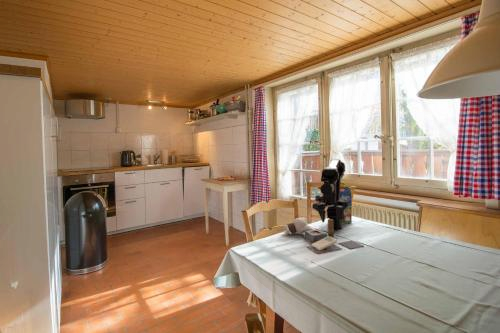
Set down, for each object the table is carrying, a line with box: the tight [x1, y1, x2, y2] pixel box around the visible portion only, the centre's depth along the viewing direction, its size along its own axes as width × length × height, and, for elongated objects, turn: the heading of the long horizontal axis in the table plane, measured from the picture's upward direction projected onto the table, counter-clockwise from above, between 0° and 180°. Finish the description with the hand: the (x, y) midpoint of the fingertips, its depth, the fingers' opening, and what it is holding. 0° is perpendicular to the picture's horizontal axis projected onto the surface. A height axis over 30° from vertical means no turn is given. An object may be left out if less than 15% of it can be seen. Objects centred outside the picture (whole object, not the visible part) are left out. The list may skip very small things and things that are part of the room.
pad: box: [338, 240, 365, 250], centre depth 123 cm, size 8×8×1 cm
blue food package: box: [340, 182, 353, 225], centre depth 159 cm, size 6×12×25 cm, turn 106°
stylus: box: [327, 218, 335, 238], centre depth 136 cm, size 3×3×9 cm
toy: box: [282, 217, 314, 236], centre depth 141 cm, size 13×9×15 cm
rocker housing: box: [306, 243, 343, 255], centre depth 120 cm, size 13×9×2 cm
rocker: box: [311, 235, 338, 251], centre depth 120 cm, size 10×6×1 cm, turn 109°
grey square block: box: [304, 228, 328, 244], centre depth 131 cm, size 8×8×4 cm
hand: (330, 221), depth 136 cm, fingers open, 9 cm apart
